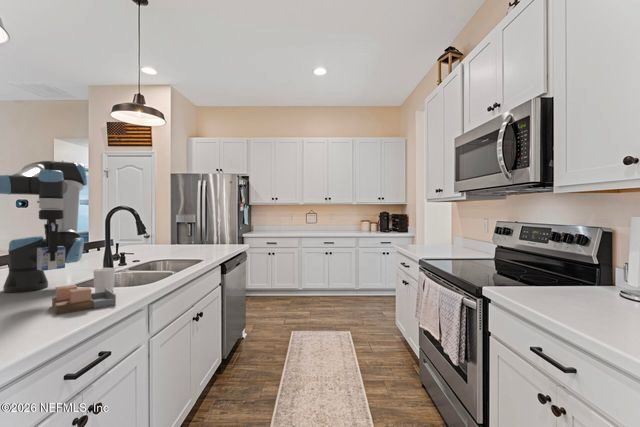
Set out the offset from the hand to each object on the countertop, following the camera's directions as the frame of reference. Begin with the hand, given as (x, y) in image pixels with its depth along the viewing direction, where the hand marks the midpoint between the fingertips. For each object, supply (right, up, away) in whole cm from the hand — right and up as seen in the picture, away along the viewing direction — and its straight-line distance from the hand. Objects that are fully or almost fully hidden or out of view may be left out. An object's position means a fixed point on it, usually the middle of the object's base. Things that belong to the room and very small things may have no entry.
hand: (51, 268), depth 131 cm
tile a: (+11, -10, -6) cm, 16 cm away
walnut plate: (+15, -13, -9) cm, 21 cm away
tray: (+21, -13, -2) cm, 25 cm away
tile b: (+19, -10, -10) cm, 23 cm away
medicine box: (0, 0, 0) cm, 0 cm away
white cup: (+12, -13, +14) cm, 23 cm away
